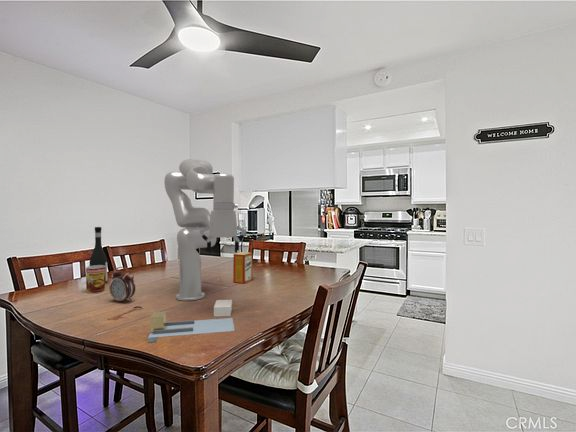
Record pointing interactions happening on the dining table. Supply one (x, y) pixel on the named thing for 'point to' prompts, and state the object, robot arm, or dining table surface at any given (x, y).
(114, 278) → the alarm clock
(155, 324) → the block
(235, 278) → the baking soda box
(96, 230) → the wine bottle
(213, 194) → the robot arm
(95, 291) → the canned food
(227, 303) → the white rectangular block
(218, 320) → the plate
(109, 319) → the key
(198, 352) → the dining table surface
